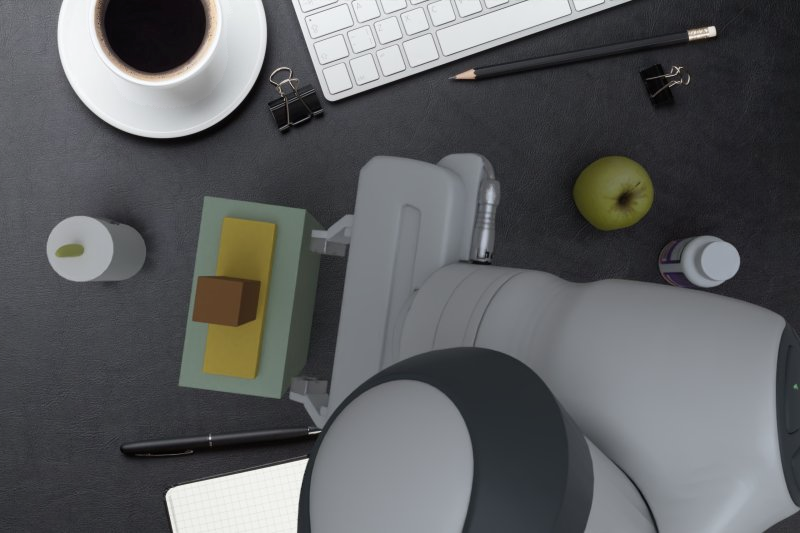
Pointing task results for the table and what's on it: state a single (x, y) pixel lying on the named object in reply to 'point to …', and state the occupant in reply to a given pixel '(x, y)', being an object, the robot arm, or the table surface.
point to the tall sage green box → (284, 306)
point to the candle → (95, 249)
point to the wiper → (237, 298)
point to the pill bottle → (698, 261)
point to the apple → (613, 193)
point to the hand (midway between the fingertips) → (308, 314)
